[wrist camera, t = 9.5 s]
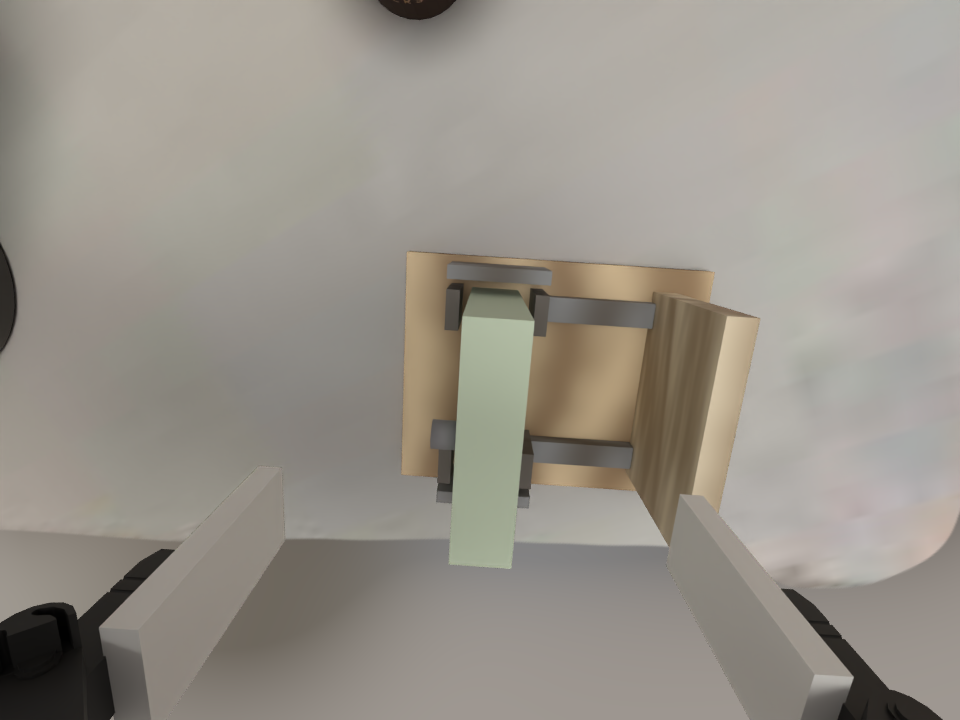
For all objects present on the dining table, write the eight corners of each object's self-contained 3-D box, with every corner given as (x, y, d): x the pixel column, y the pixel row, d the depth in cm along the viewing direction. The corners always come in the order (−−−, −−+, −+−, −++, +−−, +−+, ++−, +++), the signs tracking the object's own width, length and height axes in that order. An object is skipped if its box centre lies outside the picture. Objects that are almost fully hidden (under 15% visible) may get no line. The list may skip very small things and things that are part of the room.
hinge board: (404, 467, 36) (367, 566, 25) (409, 251, 32) (369, 258, 21) (667, 485, 36) (744, 592, 25) (706, 271, 32) (818, 288, 21)
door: (445, 452, 34) (423, 562, 23) (454, 285, 31) (433, 314, 20) (503, 456, 34) (511, 568, 23) (518, 289, 31) (534, 321, 20)
